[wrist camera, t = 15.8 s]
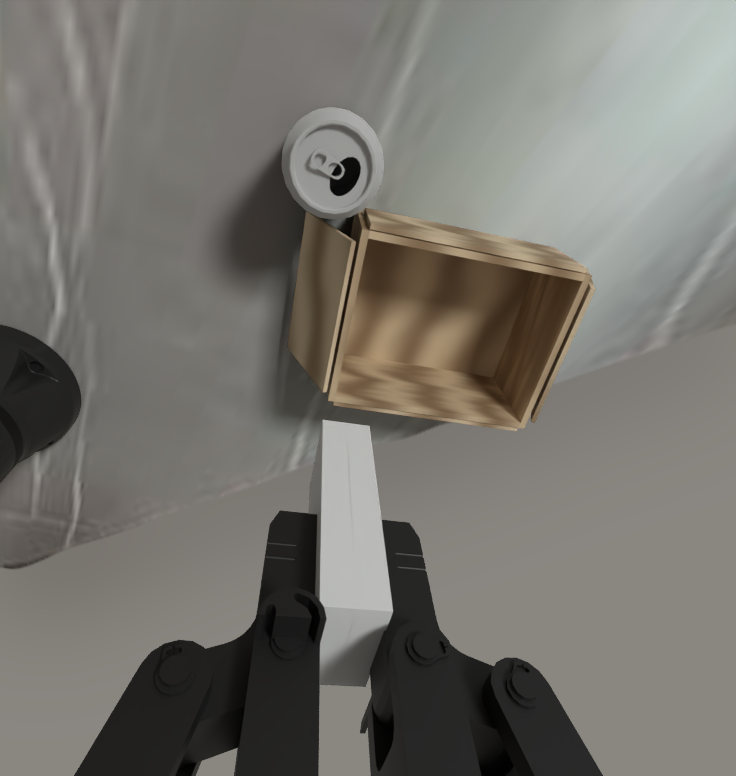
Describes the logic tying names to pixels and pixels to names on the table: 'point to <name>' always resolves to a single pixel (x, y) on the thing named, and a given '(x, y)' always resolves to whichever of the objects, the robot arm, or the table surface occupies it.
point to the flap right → (563, 349)
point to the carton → (450, 321)
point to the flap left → (319, 297)
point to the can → (332, 163)
